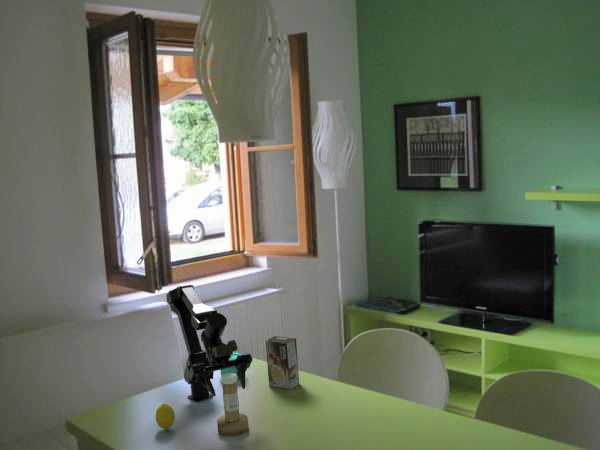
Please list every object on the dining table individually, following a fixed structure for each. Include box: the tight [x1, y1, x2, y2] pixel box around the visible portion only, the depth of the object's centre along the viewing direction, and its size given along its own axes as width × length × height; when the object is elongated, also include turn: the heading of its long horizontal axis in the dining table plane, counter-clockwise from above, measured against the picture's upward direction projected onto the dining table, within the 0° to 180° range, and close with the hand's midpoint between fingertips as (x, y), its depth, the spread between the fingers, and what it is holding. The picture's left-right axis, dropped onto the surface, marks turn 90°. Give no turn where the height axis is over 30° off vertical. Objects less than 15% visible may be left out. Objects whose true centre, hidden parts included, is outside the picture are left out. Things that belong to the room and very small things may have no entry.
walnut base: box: [216, 412, 249, 437], centre depth 197 cm, size 9×9×3 cm
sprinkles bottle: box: [220, 373, 240, 422], centre depth 196 cm, size 5×5×13 cm
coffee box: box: [265, 335, 300, 390], centre depth 229 cm, size 9×6×16 cm
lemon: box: [155, 403, 176, 430], centre depth 200 cm, size 6×6×8 cm
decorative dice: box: [219, 352, 241, 381], centre depth 240 cm, size 8×8×8 cm
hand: (229, 392), depth 196 cm, fingers open, 9 cm apart
